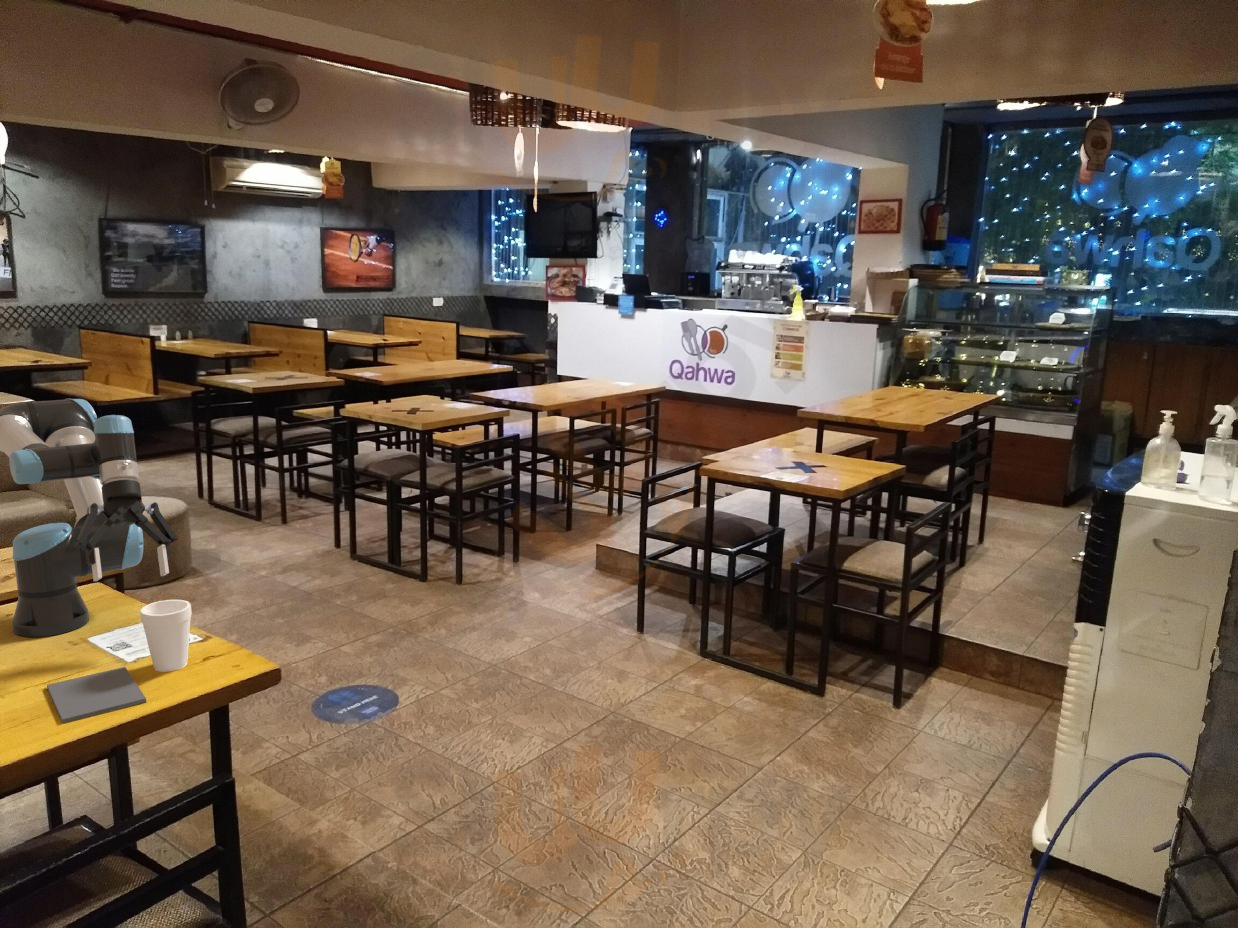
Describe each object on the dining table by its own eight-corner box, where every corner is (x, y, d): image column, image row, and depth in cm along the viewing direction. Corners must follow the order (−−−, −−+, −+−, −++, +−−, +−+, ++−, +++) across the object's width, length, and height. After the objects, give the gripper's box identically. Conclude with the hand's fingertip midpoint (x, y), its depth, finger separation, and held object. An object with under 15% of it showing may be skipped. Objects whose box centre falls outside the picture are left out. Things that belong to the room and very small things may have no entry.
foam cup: (175, 677, 185) (169, 617, 183) (135, 672, 187) (129, 613, 185) (204, 658, 195) (200, 601, 192) (166, 654, 196) (161, 597, 194)
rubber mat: (47, 688, 179) (46, 684, 179) (125, 670, 188) (125, 666, 188) (62, 723, 166) (62, 719, 166) (146, 701, 175) (146, 698, 174)
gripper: (63, 477, 187) (74, 576, 182) (185, 478, 206) (198, 568, 201) (51, 489, 192) (61, 586, 187) (171, 488, 211) (183, 576, 206)
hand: (132, 577), depth 194 cm, fingers open, 13 cm apart
